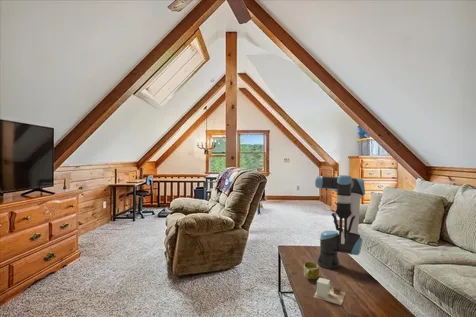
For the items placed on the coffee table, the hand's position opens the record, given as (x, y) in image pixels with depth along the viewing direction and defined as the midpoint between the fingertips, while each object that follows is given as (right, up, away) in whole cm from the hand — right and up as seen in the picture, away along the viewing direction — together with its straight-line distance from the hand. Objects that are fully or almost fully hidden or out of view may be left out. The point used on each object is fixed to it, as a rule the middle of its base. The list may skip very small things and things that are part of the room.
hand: (342, 243), depth 149 cm
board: (-11, -26, -9) cm, 30 cm away
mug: (-16, -26, +12) cm, 33 cm away
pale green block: (-14, -25, -9) cm, 30 cm away
